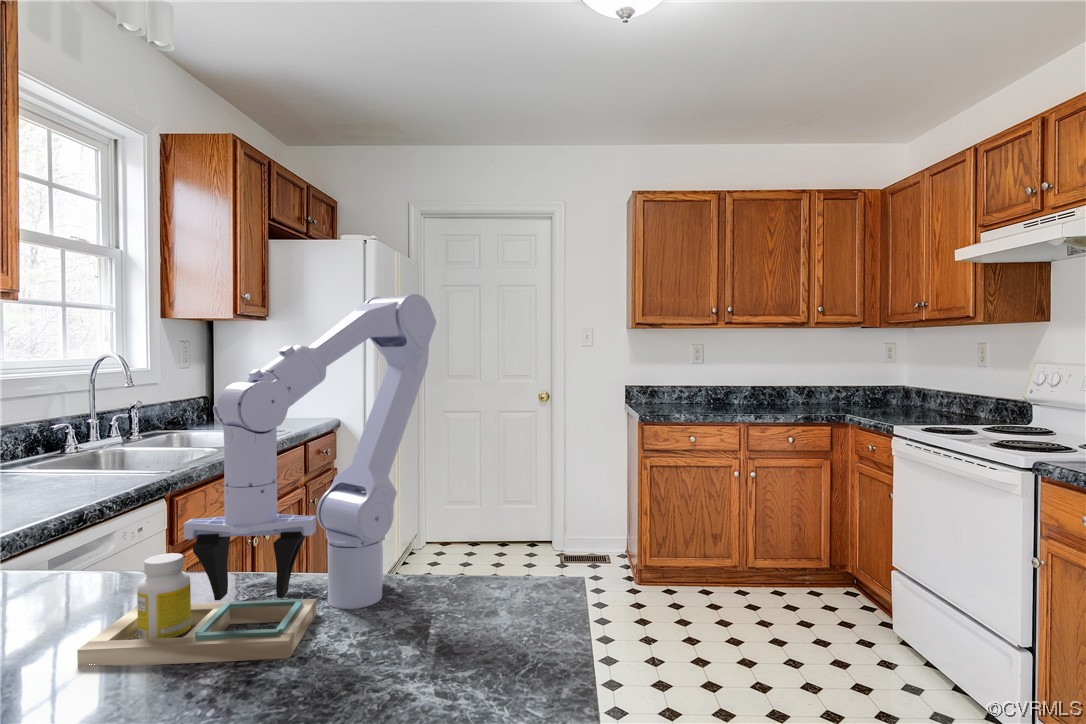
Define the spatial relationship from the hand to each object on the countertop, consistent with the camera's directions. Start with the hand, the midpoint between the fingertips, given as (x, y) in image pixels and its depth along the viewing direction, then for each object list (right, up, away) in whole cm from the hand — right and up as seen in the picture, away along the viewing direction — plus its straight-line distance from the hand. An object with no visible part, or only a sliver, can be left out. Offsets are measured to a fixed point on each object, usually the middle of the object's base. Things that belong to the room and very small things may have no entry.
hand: (251, 595), depth 76 cm
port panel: (-5, -5, 0) cm, 7 cm away
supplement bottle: (-10, -5, -1) cm, 11 cm away
